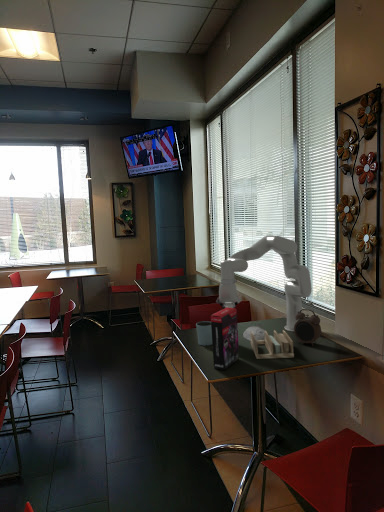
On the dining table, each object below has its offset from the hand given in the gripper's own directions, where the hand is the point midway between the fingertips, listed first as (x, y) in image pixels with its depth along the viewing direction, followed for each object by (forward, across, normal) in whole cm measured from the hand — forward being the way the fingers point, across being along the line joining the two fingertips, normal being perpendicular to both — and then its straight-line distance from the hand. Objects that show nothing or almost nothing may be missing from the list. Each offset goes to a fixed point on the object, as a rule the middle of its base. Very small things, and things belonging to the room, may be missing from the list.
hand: (228, 313), depth 208 cm
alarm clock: (+20, -44, 0) cm, 48 cm away
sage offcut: (+20, -23, +8) cm, 32 cm away
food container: (+20, -18, -16) cm, 31 cm away
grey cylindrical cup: (+20, +14, -8) cm, 26 cm away
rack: (+19, -22, +8) cm, 31 cm away
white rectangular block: (+12, 0, 0) cm, 12 cm away
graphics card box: (+20, +4, +24) cm, 31 cm away
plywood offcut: (+20, -28, +8) cm, 36 cm away
